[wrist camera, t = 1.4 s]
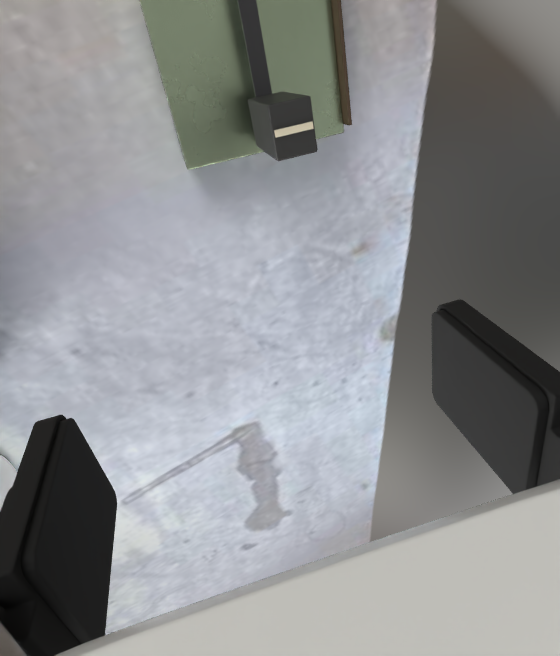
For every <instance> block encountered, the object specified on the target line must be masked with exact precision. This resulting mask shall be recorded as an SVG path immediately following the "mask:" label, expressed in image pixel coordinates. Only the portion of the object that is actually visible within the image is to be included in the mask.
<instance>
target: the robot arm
mask: <svg viewBox="0 0 560 656" xmlns="http://www.w3.org/2000/svg"><path fill="white" fill-rule="evenodd" d="M432 393H433V396H434V399H435V401H436V403H437V404H438V406H439V407H440V408H441V409H442V410H443V411H444V412H445V414H446V415H447V416H448V417H449V418H450V419H451V421H452V422H453V423H454V425H455V426H456V427H457V428H458V429H459V430H460V432H461V433H462V434H463V435H464V436H465V437H466V439H467V440H468V441H469V442H470V443H471V445H472V446H473V447H474V448H475V449H476V450H477V452H478V453H479V454H480V455H481V456H482V457H483V459H484V460H485V461H486V462H487V463H488V465H489V466H490V467H491V468H492V469H493V471H494V472H495V473H496V474H497V475H498V476H499V478H500V479H501V480H502V481H503V482H504V484H505V485H506V486H507V487H508V488H509V489H510V491H511V492H512V493H513V494H512V495H509V496H506V497H503V498H499V499H497V500H493V501H490V502H487V503H484V504H481V505H479V506H476V507H473V508H470V509H467V510H464V511H461V512H458V513H455V514H452V515H449V516H446V517H443V518H440V519H437V520H434V521H431V522H428V523H425V524H422V525H419V526H416V527H413V528H411V529H407V530H404V531H401V532H399V533H396V534H393V535H390V536H387V537H384V538H381V539H378V540H375V541H373V542H369V543H366V544H363V545H361V546H358V547H355V548H352V549H349V550H346V551H343V552H340V553H337V554H334V555H331V556H328V557H326V558H323V559H320V560H317V561H314V562H311V563H308V564H305V565H302V566H299V567H297V568H294V569H291V570H288V571H285V572H282V573H279V574H276V575H273V576H270V577H268V578H265V579H262V580H259V581H256V582H253V583H250V584H248V585H245V586H242V587H239V588H236V589H233V590H230V591H228V592H225V593H222V594H219V595H216V596H213V597H210V598H208V599H205V600H202V601H199V602H196V603H193V604H190V605H188V606H185V607H182V608H179V609H176V610H173V611H170V612H168V613H165V614H162V615H159V616H156V617H154V618H151V619H148V620H145V621H143V622H140V623H137V624H135V625H132V626H129V627H126V628H124V629H121V630H118V631H116V632H113V633H110V634H107V635H105V628H106V617H107V607H108V596H109V585H110V574H111V564H112V553H113V542H114V532H115V521H116V510H117V498H116V494H115V491H114V489H113V487H112V485H111V484H110V482H109V480H108V478H107V477H106V475H105V473H104V471H103V470H102V468H101V466H100V464H99V462H98V461H97V459H96V457H95V455H94V454H93V452H92V450H91V448H90V447H89V445H88V443H87V441H86V439H85V438H84V436H83V434H82V432H81V431H80V429H79V427H78V425H77V424H76V422H75V420H74V419H72V418H69V419H66V418H65V417H64V416H63V415H58V416H54V417H51V418H47V419H44V420H41V421H37V422H36V423H35V424H34V426H33V429H32V432H31V435H30V438H29V441H28V443H27V446H26V449H25V452H24V455H23V458H22V460H21V463H20V466H19V469H18V472H17V475H16V478H15V480H14V483H13V486H12V487H11V488H10V489H9V491H8V493H7V495H6V497H5V500H4V502H3V505H2V508H1V511H0V656H560V372H559V371H558V370H556V369H555V368H554V367H552V366H551V365H550V364H548V363H547V362H546V361H544V360H543V359H541V358H540V357H539V356H537V355H536V354H535V353H533V352H532V351H531V350H529V349H528V348H527V347H525V346H524V345H523V344H521V343H520V342H519V341H517V340H516V339H515V338H513V337H512V336H510V335H509V334H508V333H506V332H505V331H504V330H502V329H501V328H500V327H498V326H497V325H496V324H494V323H493V322H491V321H490V320H489V319H488V318H486V317H485V316H483V315H482V314H481V313H479V312H478V311H477V310H475V309H474V308H473V307H471V306H470V305H469V304H467V303H466V302H465V301H463V300H456V301H452V302H449V303H445V304H442V305H439V306H438V308H437V312H434V313H433V314H432Z"/></svg>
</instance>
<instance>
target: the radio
mask: <svg viewBox="0 0 560 656" xmlns="http://www.w3.org/2000/svg"><path fill="white" fill-rule="evenodd" d="M139 2H140V5H141V9H142V12H143V16H144V19H145V23H146V27H147V30H148V34H149V37H150V41H151V44H152V48H153V51H154V55H155V59H156V62H157V66H158V69H159V73H160V76H161V80H162V83H163V87H164V91H165V94H166V98H167V101H168V105H169V108H170V112H171V115H172V119H173V122H174V126H175V130H176V133H177V137H178V140H179V144H180V147H181V151H182V154H183V158H184V161H185V164H186V167H187V170H191V169H195V168H199V167H203V166H207V165H211V164H216V163H220V162H224V161H228V160H232V159H236V158H240V157H245V156H249V155H253V154H257V153H261V152H264V151H263V150H262V149H260V148H259V147H258V146H257V145H256V140H255V135H254V130H253V125H252V120H251V115H250V110H249V105H248V99H251V98H255V92H254V86H253V81H252V76H251V70H250V65H249V60H248V54H247V49H246V44H245V38H244V33H243V28H242V22H241V17H240V12H239V6H238V1H237V0H139ZM256 2H257V8H258V13H259V19H260V25H261V31H262V37H263V43H264V49H265V55H266V60H267V66H268V72H269V78H270V84H271V90H272V94H273V93H277V92H282V91H283V92H289V93H295V94H302V95H308V96H310V97H311V104H312V112H313V120H314V127H315V135H316V139H319V138H323V137H327V136H332V135H336V134H340V133H344V126H343V116H342V106H341V96H340V86H339V76H338V65H337V55H336V45H335V35H334V25H333V15H332V5H331V0H256Z"/></svg>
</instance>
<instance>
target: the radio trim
mask: <svg viewBox="0 0 560 656" xmlns="http://www.w3.org/2000/svg"><path fill="white" fill-rule="evenodd" d="M237 1H238V6H239V12H240V17H241V22H242V28H243V33H244V38H245V44H246V49H247V54H248V60H249V65H250V70H251V76H252V81H253V86H254V92H255V97H260V96H264V95H269V94H272V90H271V84H270V78H269V72H268V66H267V60H266V55H265V49H264V43H263V37H262V31H261V25H260V19H259V13H258V8H257V2H256V0H237ZM331 5H332V15H333V25H334V35H335V45H336V55H337V65H338V76H339V86H340V96H341V106H342V116H343V124H346V125H352V120H351V109H350V98H349V87H348V75H347V64H346V53H345V42H344V31H343V20H342V9H341V0H331Z"/></svg>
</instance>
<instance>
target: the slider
mask: <svg viewBox="0 0 560 656" xmlns="http://www.w3.org/2000/svg"><path fill="white" fill-rule="evenodd" d="M248 105H249V110H250V115H251V120H252V125H253V130H254V135H255V140H256V145H257V146H258V147H259V148H260V149H262V150H263V151H264V152H266V153H267V154H269V155H270V156H271V157H273V158H274V159H276V160H277V161H281V160H285V159H289V158H293V157H297V156H301V155H305V154H310V153H314V152H317V143H316V135H315V127H314V120H313V112H312V104H311V97H310V96H308V95H302V94H295V93H289V92H283V91H282V92H277V93H273V94H269V95H264V96H260V97H255V98H251V99H248Z"/></svg>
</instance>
